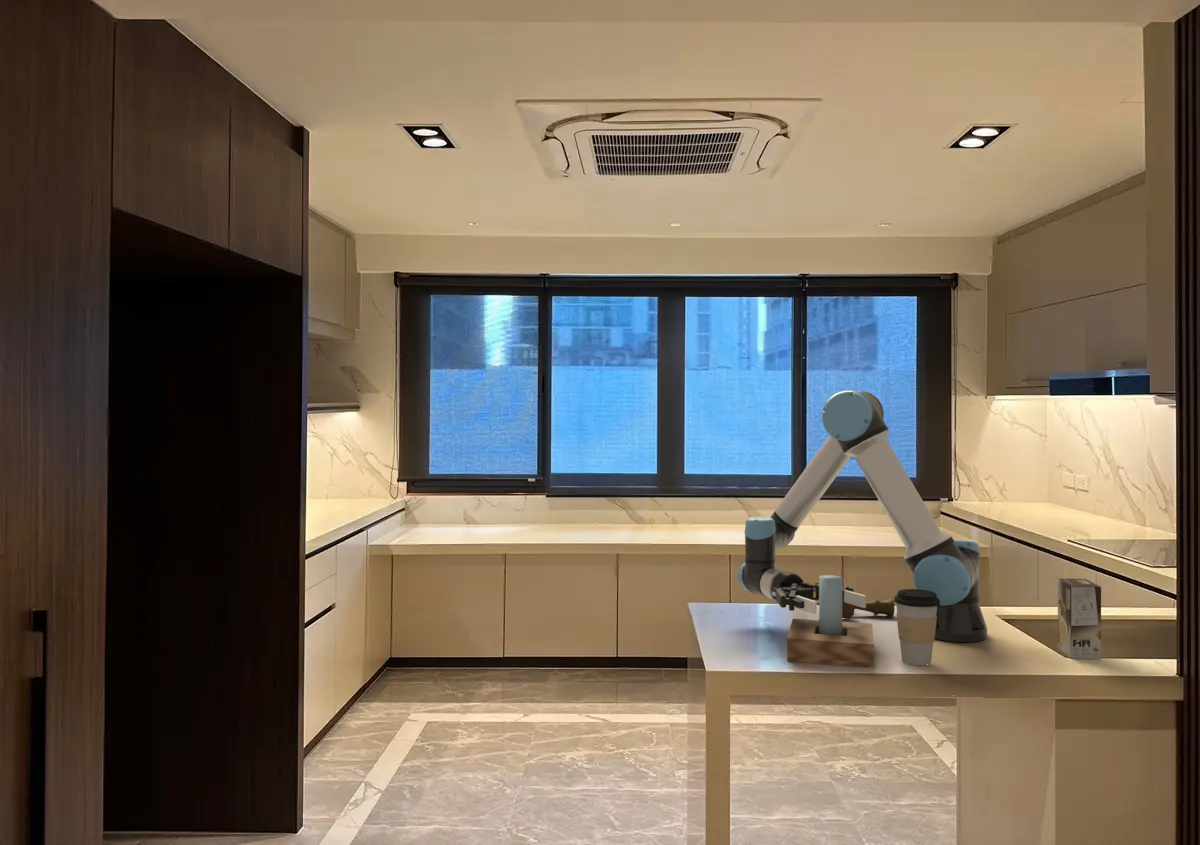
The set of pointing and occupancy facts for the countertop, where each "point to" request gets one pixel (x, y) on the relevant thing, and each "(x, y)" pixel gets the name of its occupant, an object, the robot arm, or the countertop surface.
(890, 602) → the kendama
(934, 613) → the coffee cup
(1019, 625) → the countertop surface
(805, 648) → the socket block
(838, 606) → the peg
